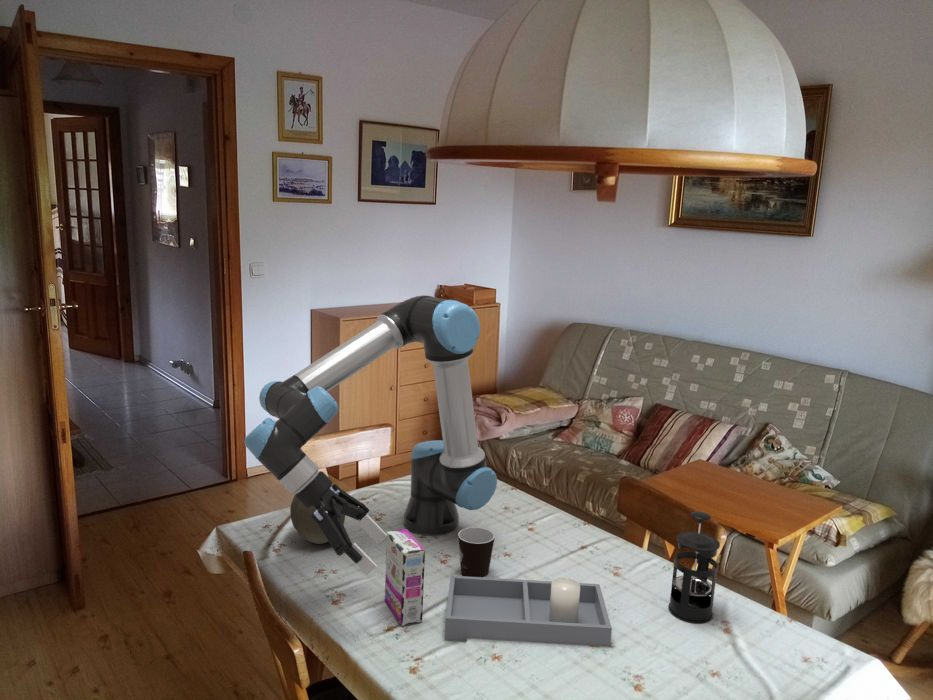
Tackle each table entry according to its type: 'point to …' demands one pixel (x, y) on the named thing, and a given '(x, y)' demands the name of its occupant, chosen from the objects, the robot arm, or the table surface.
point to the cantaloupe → (307, 522)
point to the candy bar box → (404, 576)
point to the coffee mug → (475, 551)
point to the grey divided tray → (521, 612)
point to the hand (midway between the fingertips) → (377, 554)
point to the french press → (694, 575)
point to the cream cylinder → (564, 600)
